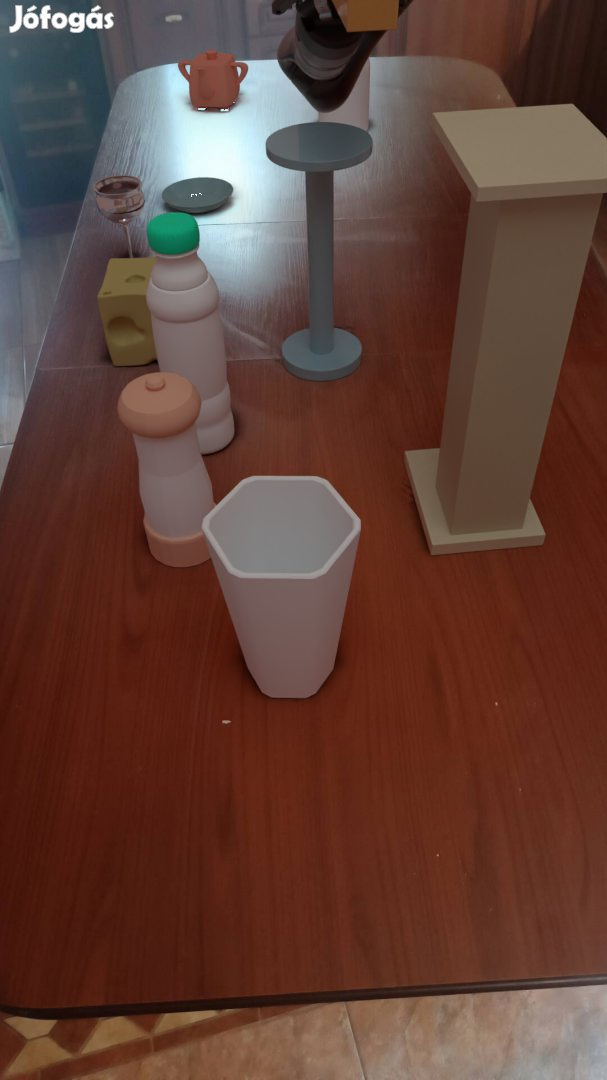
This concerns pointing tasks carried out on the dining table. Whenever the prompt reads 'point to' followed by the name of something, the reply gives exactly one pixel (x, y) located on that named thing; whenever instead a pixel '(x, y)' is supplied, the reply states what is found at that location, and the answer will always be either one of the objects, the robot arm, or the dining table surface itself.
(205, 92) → the brown sugar bowl
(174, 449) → the salt shaker
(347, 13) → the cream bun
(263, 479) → the cup
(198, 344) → the water bottle
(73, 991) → the dining table surface
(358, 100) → the wine bottle
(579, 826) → the dining table surface
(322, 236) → the cake stand
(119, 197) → the wineglass
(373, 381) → the dining table surface
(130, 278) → the cheese
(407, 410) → the dining table surface
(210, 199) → the saucer
